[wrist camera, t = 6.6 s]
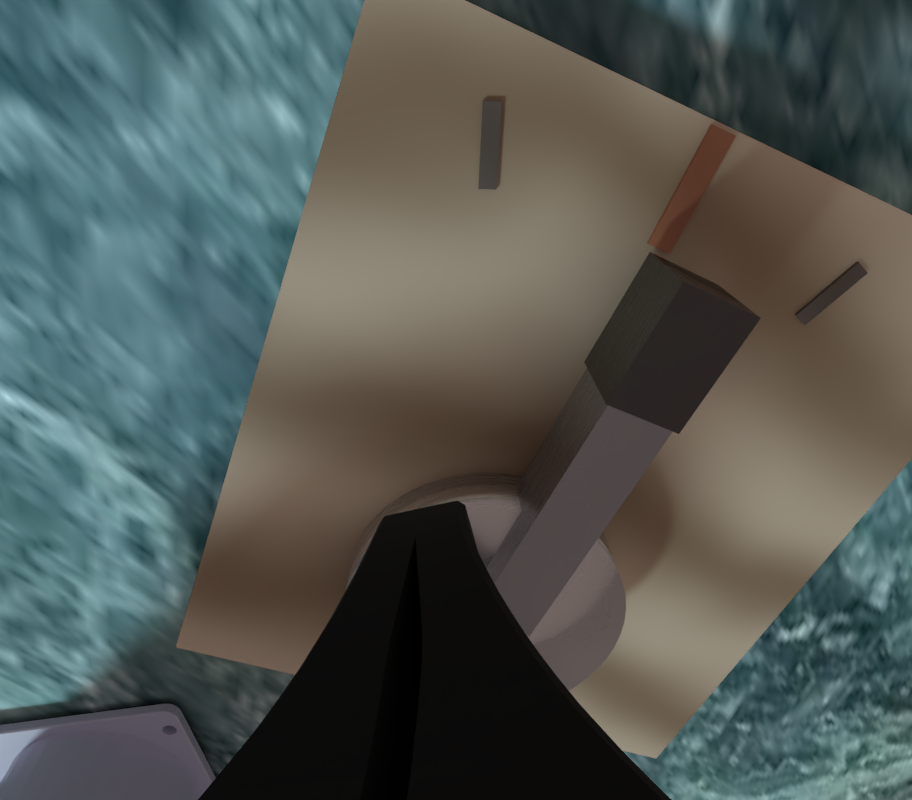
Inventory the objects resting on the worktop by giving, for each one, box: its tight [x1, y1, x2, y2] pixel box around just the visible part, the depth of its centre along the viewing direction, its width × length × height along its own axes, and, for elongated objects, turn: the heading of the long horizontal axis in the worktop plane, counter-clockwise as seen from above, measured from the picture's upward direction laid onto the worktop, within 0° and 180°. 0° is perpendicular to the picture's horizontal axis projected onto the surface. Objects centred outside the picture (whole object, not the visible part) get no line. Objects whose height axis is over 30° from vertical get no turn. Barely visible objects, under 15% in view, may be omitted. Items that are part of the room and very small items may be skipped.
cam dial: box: [346, 252, 761, 690], centre depth 17 cm, size 15×8×4 cm, turn 155°
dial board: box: [176, 0, 912, 758], centre depth 19 cm, size 20×18×1 cm
